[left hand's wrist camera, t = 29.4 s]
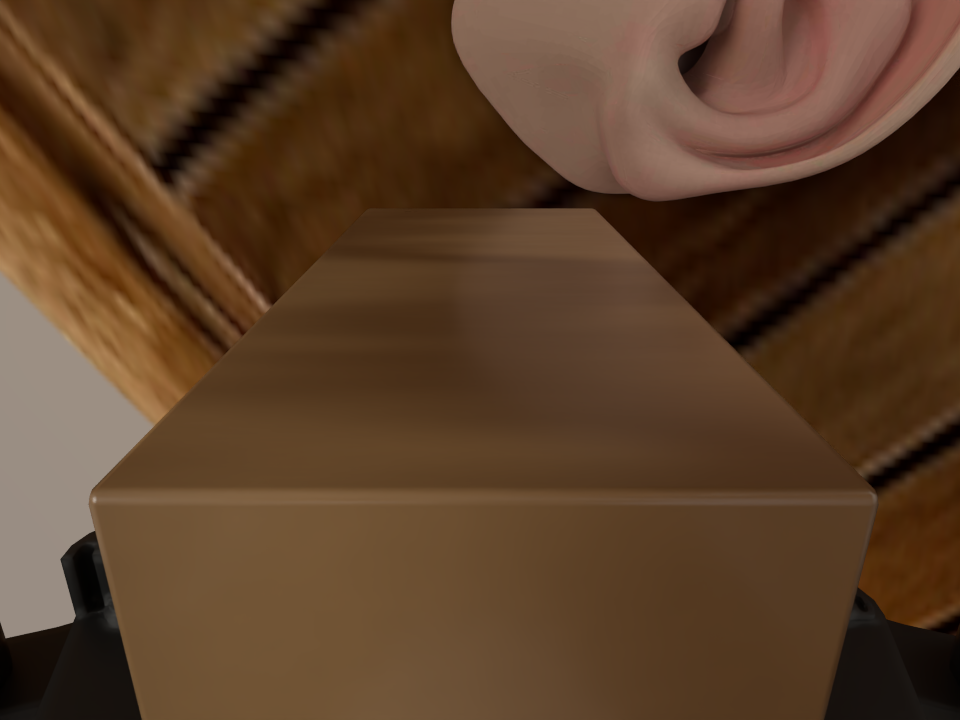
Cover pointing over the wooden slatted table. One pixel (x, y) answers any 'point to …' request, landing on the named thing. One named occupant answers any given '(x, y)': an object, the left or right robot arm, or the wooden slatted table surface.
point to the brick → (482, 498)
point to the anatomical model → (704, 84)
